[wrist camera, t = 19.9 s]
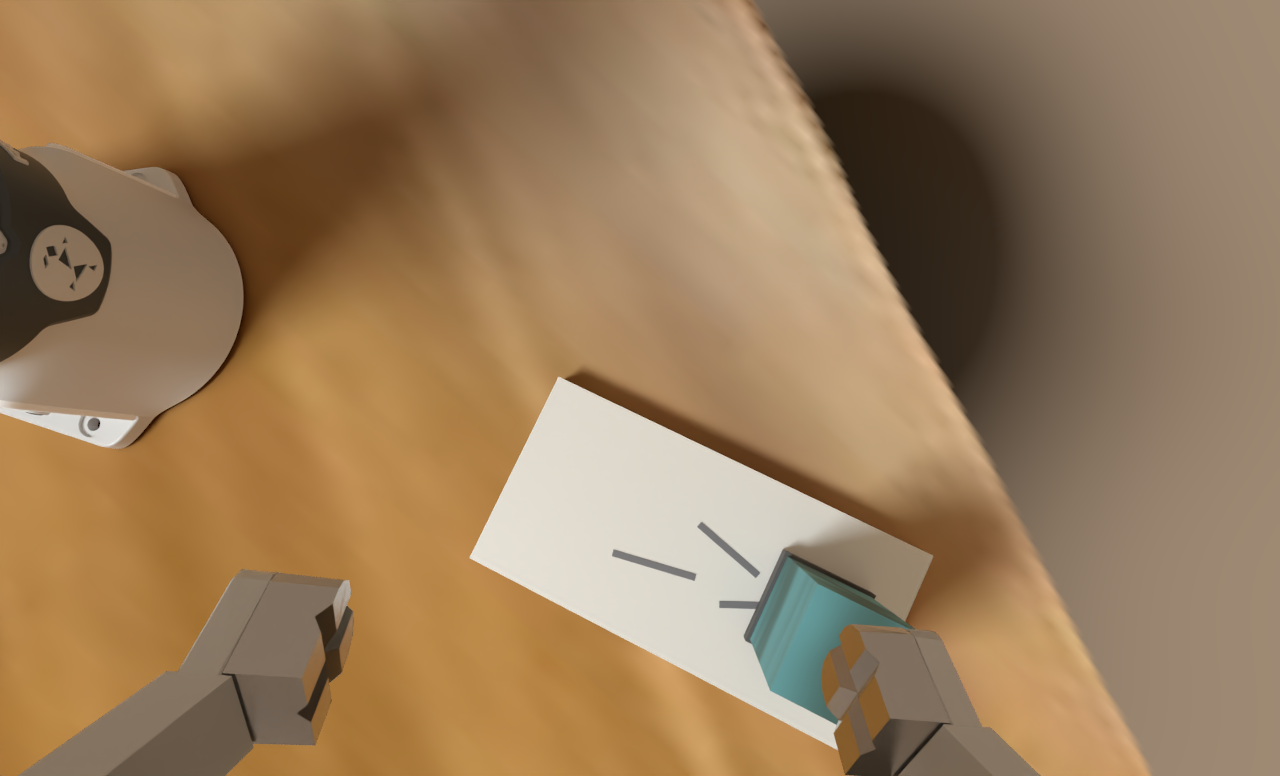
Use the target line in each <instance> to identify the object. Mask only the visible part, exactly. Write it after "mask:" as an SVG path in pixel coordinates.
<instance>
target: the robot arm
mask: <svg viewBox="0 0 1280 776" xmlns="http://www.w3.org/2000/svg"><path fill="white" fill-rule="evenodd" d="M242 311H243V282H242V276H241V272H240V268H239V265H238V262H237V259H236V257H235V254H234V252H233V250H232V248H231V247H230V245H229V243H228V242H227V240H226V239H225V238H224V236H223V235H222V234H221V233H220V231H219V230H218V229H217V228H216V227H215V226H214V225H213V224H211V223H210V222H209V221H208V220H207V219H206V218H204V217H203V216H202V215H201V214H200V213H199V212H198V211H197V210H196V209H195V208H194V207H193V205H192V203H191V200H190V198H189V196H188V193H187V191H186V189H185V187H184V185H183V183H182V182H181V180H180V179H179V177H178V176H177V175H176V174H174V173H172V172H170V171H167V170H165V169H163V168H160V167H148V168H141V169H133V170H125V171H121V170H119V169H117V168H114V167H112V166H110V165H108V164H105V163H103V162H101V161H98V160H96V159H94V158H91V157H89V156H87V155H85V154H82V153H80V152H78V151H75V150H73V149H71V148H68V147H66V146H63V145H59V144H54V143H49V144H47V145H46V146H45V147H41V146H39V147H27V148H22V149H18V150H17V149H15V148H13V147H11V146H10V145H8V144H7V143H5V142H3V141H1V140H0V413H2V414H5V415H8V416H11V417H14V418H17V419H20V420H23V421H26V422H29V423H32V424H35V425H38V426H41V427H44V428H47V429H50V430H53V431H56V432H59V433H62V434H65V435H68V436H71V437H74V438H77V439H80V440H83V441H86V442H89V443H92V444H95V445H98V446H102V447H107V448H114V449H121V448H124V447H127V446H128V445H130V444H131V443H132V442H133V441H135V440H136V439H137V438H138V436H139V435H140V434H141V433H142V432H143V431H144V430H145V429H146V427H147V426H148V425H149V424H150V423H151V421H152V420H153V419H154V418H155V417H156V416H157V415H159V414H160V413H161V412H163V411H165V410H166V409H168V408H170V407H172V406H174V405H176V404H177V403H179V402H181V401H183V400H184V399H186V398H188V397H189V396H191V395H192V394H193V393H195V392H196V391H197V390H199V389H200V388H201V387H202V386H203V385H204V384H205V383H206V382H207V381H208V380H209V379H210V378H211V377H212V376H213V375H214V374H215V373H216V371H217V370H218V369H219V368H220V366H221V365H222V363H223V362H224V360H225V359H226V357H227V355H228V354H229V352H230V350H231V348H232V346H233V343H234V341H235V339H236V336H237V333H238V330H239V326H240V322H241V317H242ZM99 421H100V427H99V428H98V422H99ZM350 595H351V590H350V584H349V580H343V579H333V578H324V577H314V576H304V575H295V574H285V573H279V572H268V571H257V570H245V569H242V570H241V571H240V572H239V573H238V574H237V575H236V576H235V577H234V578H233V579H232V580H231V581H230V583H229V585H228V587H227V588H226V590H225V592H224V593H223V595H222V597H221V599H220V600H219V602H218V604H217V605H216V607H215V609H214V610H213V612H212V614H211V616H210V617H209V619H208V621H207V622H206V624H205V626H204V628H203V629H202V631H201V633H200V634H199V636H198V638H197V640H196V641H195V643H194V645H193V646H192V648H191V650H190V652H189V653H188V655H187V657H186V658H185V660H184V662H183V664H182V665H181V667H180V669H179V670H178V672H177V671H166V672H165V673H163V674H162V675H160V676H159V677H157V678H156V679H155V680H153V681H152V682H150V683H149V684H147V685H146V686H145V687H143V688H142V689H140V690H139V691H138V692H136V693H135V694H133V695H132V696H130V697H129V698H128V699H126V700H125V701H123V702H122V703H120V704H119V705H118V706H116V707H115V708H113V709H112V710H111V711H109V712H108V713H106V714H105V715H103V716H102V717H101V718H99V719H98V720H96V721H95V722H93V723H92V724H91V725H89V726H88V727H86V728H85V729H84V730H82V731H81V732H79V733H78V734H76V735H75V736H74V737H72V738H71V739H69V740H68V741H66V742H65V743H64V744H62V745H61V746H59V747H58V748H57V749H55V750H54V751H52V752H51V753H49V754H48V755H47V756H45V757H44V758H42V759H41V760H39V761H38V762H37V763H35V764H34V765H32V766H31V767H30V768H28V769H27V770H25V771H24V772H22V773H21V774H20V775H18V776H225V775H226V774H227V773H228V772H229V771H230V770H231V769H232V768H233V767H234V766H235V765H236V764H237V763H238V762H239V761H240V760H242V759H243V758H244V757H245V756H246V755H247V754H248V753H249V752H250V751H251V750H252V749H253V744H285V745H316V742H317V740H318V737H319V734H320V731H321V729H322V726H323V723H324V721H325V718H326V715H327V712H328V710H329V707H330V704H331V702H332V699H331V692H330V685H329V683H330V682H331V681H332V680H334V679H335V678H336V677H337V676H338V675H340V674H341V673H342V671H343V668H344V665H345V662H346V659H347V657H348V653H349V649H350V645H351V640H352V636H353V626H354V617H353V611H352V610H351V609H350V608H349V607H348V606H346V605H347V603H348V600H349V598H350ZM839 638H840V641H841V645H839V646H837V647H836V648H834V649H832V650H830V651H829V652H828V654H827V656H826V658H825V660H824V662H823V667H822V675H821V682H822V692H823V696H824V700H825V704H826V707H827V708H828V709H829V710H830V711H831V713H832V714H833V715H834V716H835V717H836V718H837V719H838V723H837V726H836V728H835V731H834V737H835V741H836V744H837V748H838V751H839V755H840V759H841V762H842V766H843V769H844V773H845V775H853V776H1040V775H1039V774H1038V773H1037V772H1036V771H1035V770H1034V769H1033V768H1032V767H1031V766H1030V765H1029V764H1028V763H1027V762H1026V761H1025V760H1024V759H1023V758H1022V757H1021V756H1019V755H1018V754H1017V753H1016V752H1015V751H1014V750H1013V749H1012V748H1011V747H1010V746H1009V745H1008V744H1007V743H1006V742H1005V741H1004V740H1003V739H1002V738H1001V737H1000V736H999V735H998V734H997V733H996V732H995V731H994V730H992V729H991V728H990V727H982V725H981V723H980V721H979V719H978V716H977V714H976V712H975V710H974V708H973V706H972V704H971V701H970V699H969V697H968V695H967V693H966V691H965V689H964V686H963V684H962V682H961V680H960V678H959V676H958V673H957V671H956V669H955V667H954V665H953V663H952V661H951V658H950V656H949V654H948V652H947V650H946V648H945V646H944V643H943V641H942V639H941V638H940V637H939V636H938V635H937V634H936V633H935V632H933V631H928V630H913V629H904V628H900V627H886V626H872V625H858V624H850V625H848V626H845V627H844V628H843V630H842V632H841V633H840V635H839Z"/></svg>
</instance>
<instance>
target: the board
mask: <svg viewBox="0 0 1280 776" xmlns="http://www.w3.org/2000/svg"><path fill="white" fill-rule="evenodd" d="M783 549H784V550H786V551H788V552H790V553H792V554H794V555H796V556H798V557H801V558H803V559H805V560H807V561H809V562H811V563H813V564H815V565H817V566H819V567H821V568H823V569H825V570H827V571H829V572H831V573H833V574H835V575H837V576H839V577H842V578H844V579H846V580H848V581H850V582H852V583H854V584H856V585H858V586H860V587H862V588H864V589H866V590H868V591H870V592H872V593H873V594H875V595H876V597H875V599H874V600H876V601H877V602H879V603H880V604H881V605H883V606H884V607H886V608H887V609H888V610H890V611H891V612H892V613H894V614H895V615H897V616H898V617H899V618H901V619H902V620H903V621H906V618H907V616H908V614H909V611H910V609H911V607H912V605H913V602H914V600H915V598H916V595H917V593H918V591H919V589H920V586H921V584H922V582H923V579H924V577H925V575H926V572H927V570H928V568H929V566H930V563H931V561H932V559H933V555H931V554H929V553H927V552H925V551H923V550H921V549H918V548H916V547H914V546H912V545H910V544H908V543H906V542H904V541H902V540H900V539H898V538H895V537H893V536H891V535H889V534H887V533H885V532H883V531H881V530H879V529H877V528H874V527H872V526H870V525H868V524H866V523H864V522H862V521H860V520H858V519H856V518H854V517H851V516H849V515H847V514H845V513H843V512H841V511H839V510H837V509H835V508H833V507H831V506H828V505H826V504H824V503H822V502H820V501H818V500H816V499H814V498H812V497H810V496H807V495H805V494H803V493H801V492H799V491H797V490H795V489H793V488H791V487H789V486H787V485H784V484H782V483H780V482H778V481H776V480H774V479H772V478H770V477H768V476H766V475H763V474H761V473H759V472H757V471H755V470H753V469H751V468H749V467H747V466H745V465H743V464H740V463H738V462H736V461H734V460H732V459H730V458H728V457H726V456H724V455H722V454H720V453H717V452H715V451H713V450H711V449H709V448H707V447H705V446H703V445H701V444H699V443H696V442H694V441H692V440H690V439H688V438H686V437H684V436H682V435H680V434H678V433H676V432H673V431H671V430H669V429H667V428H665V427H663V426H661V425H659V424H657V423H655V422H652V421H650V420H648V419H646V418H644V417H642V416H640V415H638V414H636V413H634V412H632V411H629V410H627V409H625V408H623V407H621V406H619V405H617V404H615V403H613V402H611V401H609V400H606V399H604V398H602V397H600V396H598V395H596V394H594V393H592V392H590V391H588V390H585V389H583V388H581V387H579V386H577V385H575V384H573V383H571V382H569V381H567V380H565V379H562V378H560V377H558V379H557V381H556V383H555V385H554V387H553V389H552V391H551V393H550V395H549V397H548V399H547V401H546V404H545V406H544V408H543V410H542V412H541V414H540V416H539V418H538V420H537V422H536V424H535V426H534V428H533V430H532V432H531V434H530V436H529V438H528V440H527V442H526V444H525V446H524V448H523V450H522V452H521V454H520V456H519V458H518V460H517V462H516V464H515V466H514V468H513V471H512V473H511V475H510V477H509V479H508V481H507V483H506V485H505V487H504V489H503V491H502V493H501V495H500V497H499V499H498V501H497V503H496V505H495V507H494V509H493V511H492V513H491V515H490V517H489V519H488V521H487V523H486V525H485V527H484V529H483V531H482V533H481V535H480V538H479V540H478V542H477V544H476V546H475V548H474V550H473V552H472V554H471V556H470V559H472V560H474V561H476V562H478V563H480V564H482V565H484V566H486V567H488V568H490V569H491V570H493V571H495V572H497V573H499V574H501V575H503V576H505V577H507V578H509V579H511V580H513V581H514V582H516V583H518V584H520V585H522V586H524V587H526V588H528V589H530V590H532V591H534V592H536V593H538V594H539V595H541V596H543V597H545V598H547V599H549V600H551V601H553V602H555V603H557V604H559V605H561V606H562V607H564V608H566V609H568V610H570V611H572V612H574V613H576V614H578V615H580V616H582V617H584V618H585V619H587V620H589V621H591V622H593V623H595V624H597V625H599V626H601V627H603V628H605V629H607V630H608V631H610V632H612V633H614V634H616V635H618V636H620V637H622V638H624V639H626V640H628V641H630V642H631V643H633V644H635V645H637V646H639V647H641V648H643V649H645V650H647V651H649V652H651V653H653V654H654V655H656V656H658V657H660V658H662V659H664V660H666V661H668V662H670V663H672V664H674V665H676V666H677V667H679V668H681V669H683V670H685V671H687V672H689V673H691V674H693V675H695V676H697V677H699V678H700V679H702V680H704V681H706V682H708V683H710V684H712V685H714V686H716V687H718V688H720V689H722V690H724V691H725V692H727V693H729V694H731V695H733V696H735V697H737V698H739V699H741V700H743V701H745V702H747V703H748V704H750V705H752V706H754V707H756V708H758V709H760V710H762V711H764V712H766V713H768V714H770V715H771V716H773V717H775V718H777V719H779V720H781V721H783V722H785V723H787V724H789V725H791V726H793V727H794V728H796V729H798V730H800V731H802V732H804V733H806V734H808V735H810V736H812V737H814V738H816V739H817V740H819V741H821V742H823V743H825V744H827V745H829V746H831V747H833V748H835V749H837V750H838V748H837V744H836V741H835V737H834V731H835V728H836V726H837V725H836V724H834V723H832V722H830V721H828V720H826V719H824V718H822V717H820V716H818V715H816V714H814V713H813V712H811V711H809V710H807V709H805V708H803V707H801V706H799V705H797V704H795V703H793V702H791V701H789V700H787V699H785V698H783V697H781V696H779V695H777V694H775V693H774V692H772V691H770V689H769V686H768V684H767V681H766V679H765V676H764V674H763V671H762V669H761V666H760V663H759V661H758V658H757V656H756V653H755V651H754V648H753V645H752V644H750V643H748V642H746V641H745V639H744V634H745V631H746V629H747V627H748V625H749V623H750V620H751V618H752V616H753V614H754V612H755V609H756V607H757V605H758V603H759V601H760V598H761V596H762V594H763V592H764V590H765V587H766V585H767V583H768V581H769V579H770V576H771V574H772V572H773V570H774V568H775V565H776V563H777V561H778V559H779V557H780V554H781V552H782V550H783Z"/></svg>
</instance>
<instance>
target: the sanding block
mask: <svg viewBox="0 0 1280 776" xmlns="http://www.w3.org/2000/svg"><path fill="white" fill-rule="evenodd" d="M875 597H876V595H875V594H873V593H872V592H870V591H868V590H866V589H864V588H862V587H860V586H858V585H856V584H854V583H852V582H850V581H848V580H846V579H844V578H842V577H839V576H837V575H835V574H833V573H831V572H829V571H827V570H825V569H823V568H821V567H819V566H817V565H815V564H813V563H811V562H809V561H807V560H805V559H803V558H801V557H798V556H796V555H794V554H792V553H790V552H788V551H786V550H784V549H783V550H782V552H781V554H780V557H779V559H778V561H777V563H776V565H775V568H774V570H773V572H772V574H771V576H770V579H769V581H768V583H767V585H766V587H765V590H764V592H763V594H762V596H761V598H760V601H759V603H758V605H757V607H756V609H755V612H754V614H753V616H752V618H751V620H750V623H749V625H748V627H747V629H746V631H745V634H744V639H745V641H746V642H748V643H750V644H752V645H753V648H754V651H755V653H756V656H757V658H758V661H759V663H760V666H761V669H762V671H763V674H764V676H765V679H766V681H767V684H768V686H769V689H770V691H772V692H774V693H775V694H777V695H779V696H781V697H783V698H785V699H787V700H789V701H791V702H793V703H795V704H797V705H799V706H801V707H803V708H805V709H807V710H809V711H811V712H813V713H814V714H816V715H818V716H820V717H822V718H824V719H826V720H828V721H830V722H832V723H834V724H836V725H837V723H838V719H837V718H836V717H835V716H834V715H833V714H832V713H831V711H830V710H829V709H828V708H827V707H826V704H825V700H824V696H823V692H822V682H821V675H822V667H823V662H824V660H825V658H826V656H827V654H828V652H829V651H830V650H832V649H834V648H836V647H837V646H839V645H841V641H840V638H839V635H840V633H841V632H842V630H843V628H844V627H845V626H848V625H850V624H858V625H872V626H886V627H900V628H904V629H913V630H916V629H914V628H913V627H912V626H910V625H909V624H908V623H906V622H905V621H903V620H902V619H901V618H899V617H898V616H897V615H895V614H894V613H892V612H891V611H890V610H888V609H887V608H886V607H884V606H883V605H881V604H880V603H879V602H877V601H876V600H874V599H875Z"/></svg>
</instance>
